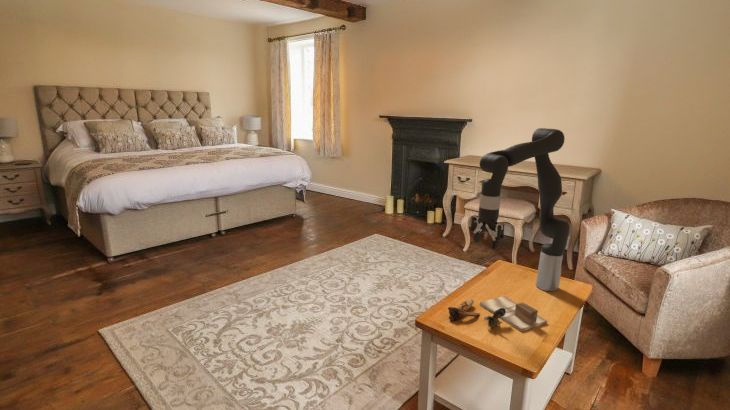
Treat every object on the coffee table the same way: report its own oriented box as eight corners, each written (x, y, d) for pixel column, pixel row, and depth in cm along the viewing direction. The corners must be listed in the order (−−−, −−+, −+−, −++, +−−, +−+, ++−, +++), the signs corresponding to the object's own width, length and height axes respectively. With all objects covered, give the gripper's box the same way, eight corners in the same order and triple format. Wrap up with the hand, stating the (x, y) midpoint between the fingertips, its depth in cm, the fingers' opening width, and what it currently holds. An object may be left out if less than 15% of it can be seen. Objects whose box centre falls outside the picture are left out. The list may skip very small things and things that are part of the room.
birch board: (504, 298, 172) (504, 295, 172) (546, 323, 154) (547, 320, 153) (479, 304, 166) (479, 302, 166) (521, 331, 147) (521, 328, 147)
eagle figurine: (507, 331, 146) (510, 315, 153) (497, 315, 145) (501, 301, 152) (488, 335, 150) (492, 320, 157) (479, 320, 149) (483, 305, 156)
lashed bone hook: (464, 329, 149) (485, 310, 162) (465, 318, 148) (486, 300, 161) (443, 319, 155) (464, 302, 168) (444, 308, 154) (466, 292, 167)
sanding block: (521, 313, 158) (523, 302, 157) (536, 322, 152) (537, 310, 151) (514, 315, 156) (516, 304, 155) (528, 324, 150) (530, 312, 149)
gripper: (511, 209, 149) (506, 249, 153) (481, 201, 160) (477, 238, 164) (498, 211, 144) (493, 253, 149) (468, 203, 156) (464, 241, 160)
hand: (485, 245), depth 156 cm, fingers open, 8 cm apart
